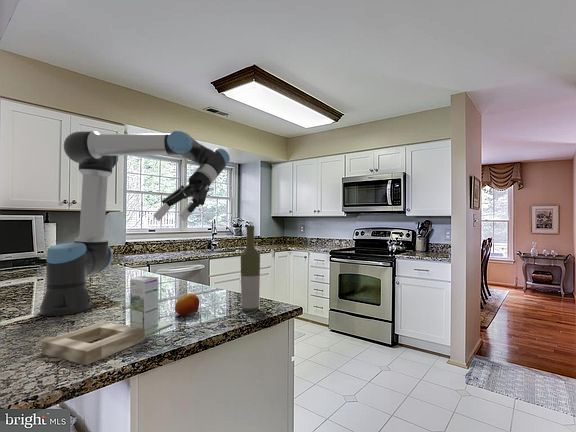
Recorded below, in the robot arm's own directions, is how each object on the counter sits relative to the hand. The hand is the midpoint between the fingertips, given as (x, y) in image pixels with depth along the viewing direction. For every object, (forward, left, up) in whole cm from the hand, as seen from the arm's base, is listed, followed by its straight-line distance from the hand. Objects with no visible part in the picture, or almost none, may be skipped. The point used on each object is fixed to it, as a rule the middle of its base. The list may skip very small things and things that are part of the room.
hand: (168, 218), depth 111 cm
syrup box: (+3, -13, -32) cm, 35 cm away
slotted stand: (+3, -29, -33) cm, 44 cm away
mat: (+3, -13, -33) cm, 35 cm away
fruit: (+5, +3, -33) cm, 34 cm away
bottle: (+22, +16, -33) cm, 43 cm away
